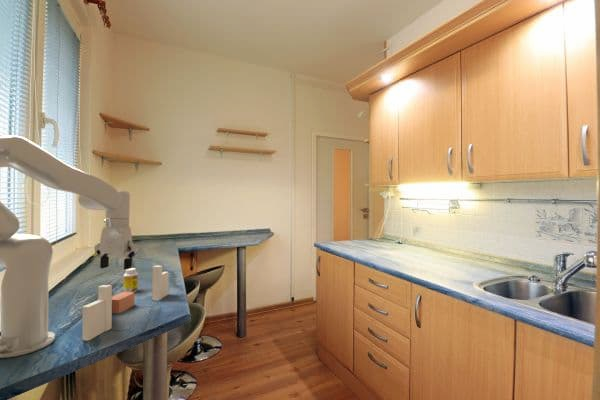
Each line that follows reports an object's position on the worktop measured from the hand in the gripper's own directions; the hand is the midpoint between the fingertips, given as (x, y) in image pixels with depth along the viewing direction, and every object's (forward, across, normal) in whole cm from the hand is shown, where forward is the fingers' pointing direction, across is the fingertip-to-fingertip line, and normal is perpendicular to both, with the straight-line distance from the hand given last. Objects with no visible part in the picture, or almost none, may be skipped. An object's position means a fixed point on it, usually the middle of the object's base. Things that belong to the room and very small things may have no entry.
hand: (116, 268), depth 104 cm
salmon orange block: (+16, +1, +2) cm, 16 cm away
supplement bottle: (+16, -9, +20) cm, 27 cm away
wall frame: (+16, +9, 0) cm, 18 cm away
